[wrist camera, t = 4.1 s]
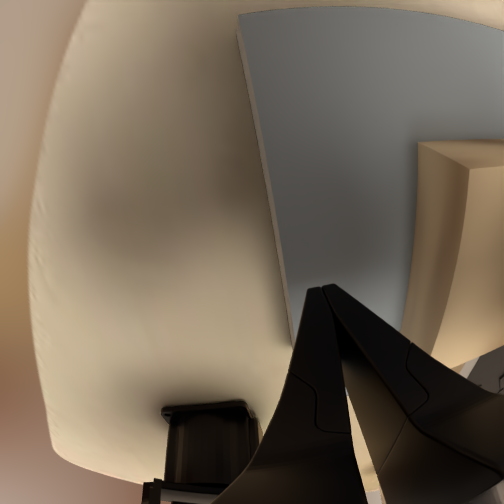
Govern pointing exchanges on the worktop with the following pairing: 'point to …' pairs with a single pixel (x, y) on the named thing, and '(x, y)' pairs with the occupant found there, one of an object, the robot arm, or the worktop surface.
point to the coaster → (458, 251)
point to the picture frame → (485, 370)
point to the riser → (360, 135)
